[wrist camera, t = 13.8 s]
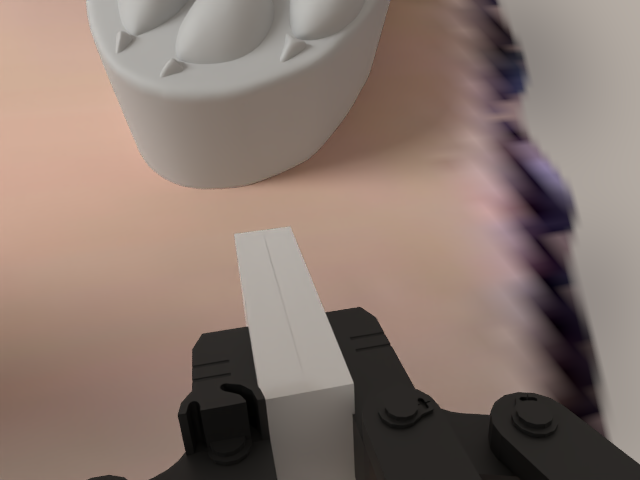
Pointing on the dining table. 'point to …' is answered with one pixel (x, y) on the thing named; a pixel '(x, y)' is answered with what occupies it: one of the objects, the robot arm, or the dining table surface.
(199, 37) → the lumpy-topped squat cylinder
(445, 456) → the robot arm
